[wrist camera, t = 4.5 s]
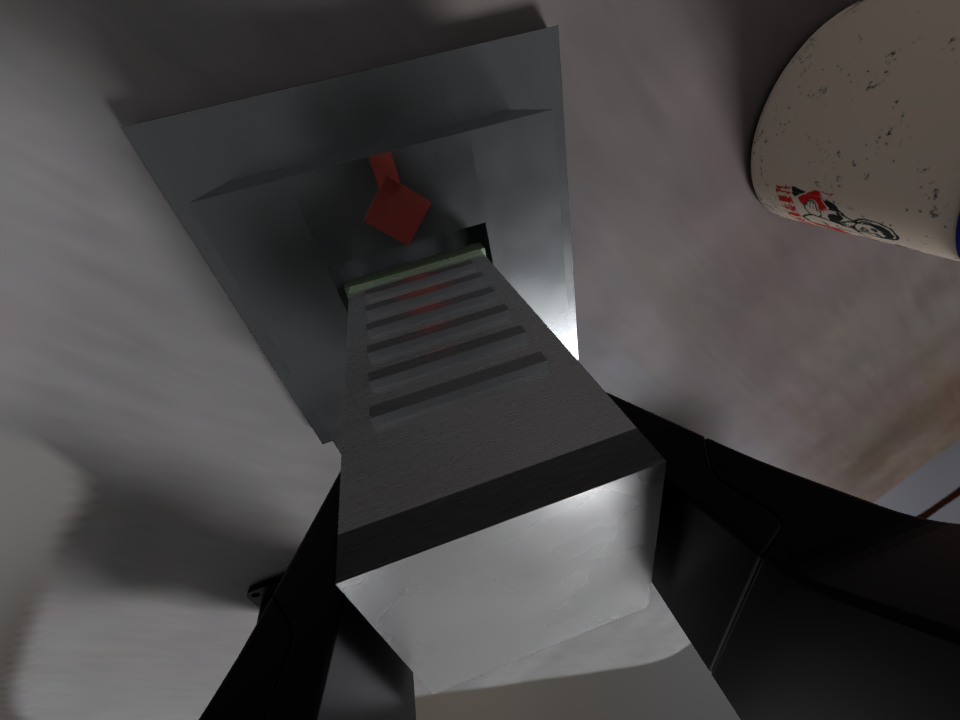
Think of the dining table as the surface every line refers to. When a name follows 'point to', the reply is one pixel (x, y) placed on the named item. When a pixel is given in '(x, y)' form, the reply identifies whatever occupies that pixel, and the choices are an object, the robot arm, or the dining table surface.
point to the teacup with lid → (869, 127)
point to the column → (482, 475)
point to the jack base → (373, 194)
